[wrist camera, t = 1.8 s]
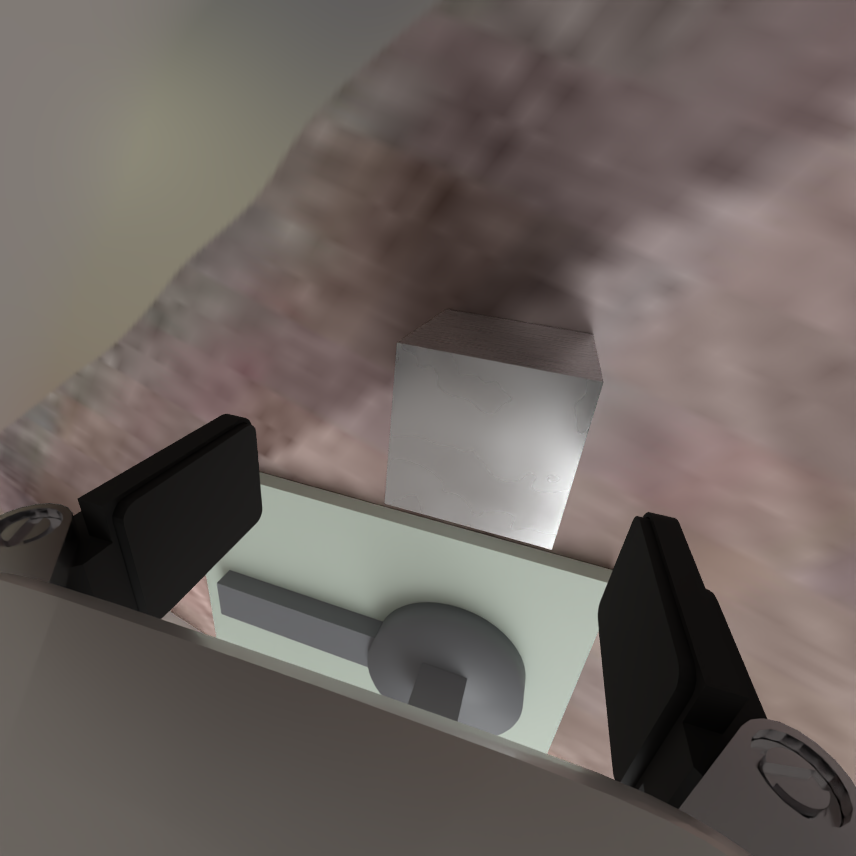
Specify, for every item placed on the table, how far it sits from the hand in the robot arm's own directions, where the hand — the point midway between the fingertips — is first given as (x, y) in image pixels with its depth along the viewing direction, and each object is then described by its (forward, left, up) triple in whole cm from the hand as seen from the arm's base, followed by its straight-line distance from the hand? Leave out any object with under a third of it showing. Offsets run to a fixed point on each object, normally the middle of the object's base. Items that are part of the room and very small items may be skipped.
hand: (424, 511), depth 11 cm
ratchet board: (+4, +17, -10) cm, 20 cm away
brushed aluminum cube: (-1, 0, -10) cm, 10 cm away
